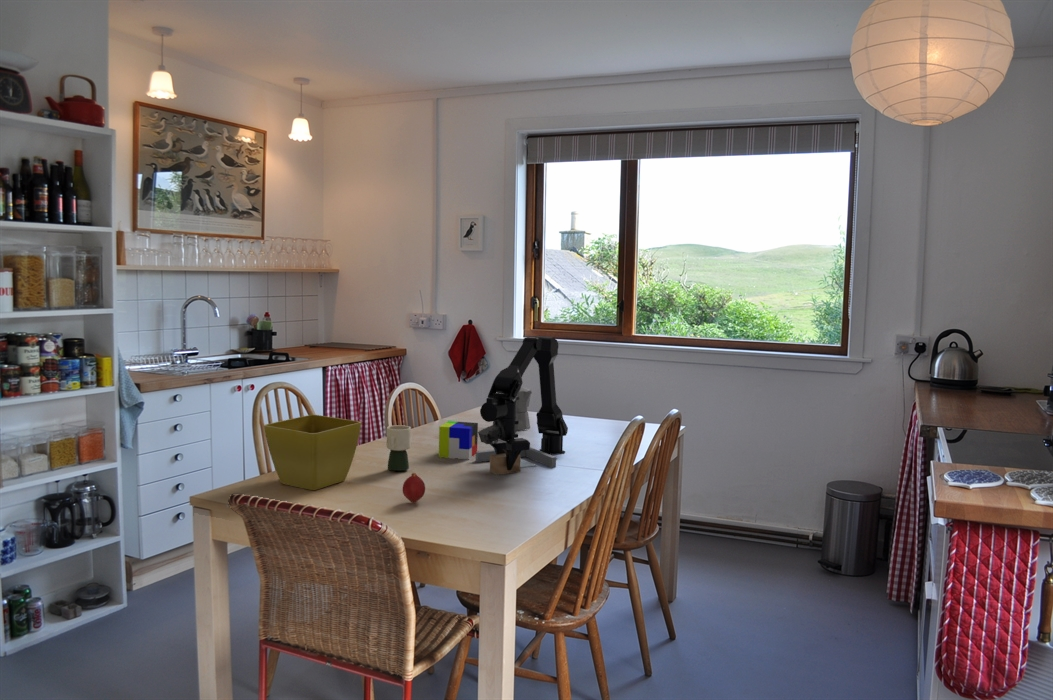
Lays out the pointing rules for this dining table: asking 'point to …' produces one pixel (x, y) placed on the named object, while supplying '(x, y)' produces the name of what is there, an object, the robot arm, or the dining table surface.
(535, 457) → the grey angle bracket
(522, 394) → the coffeepot
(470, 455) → the puzzle toy
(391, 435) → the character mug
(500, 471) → the walnut block
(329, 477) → the flower pot
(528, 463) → the mat
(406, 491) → the onion
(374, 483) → the dining table surface
